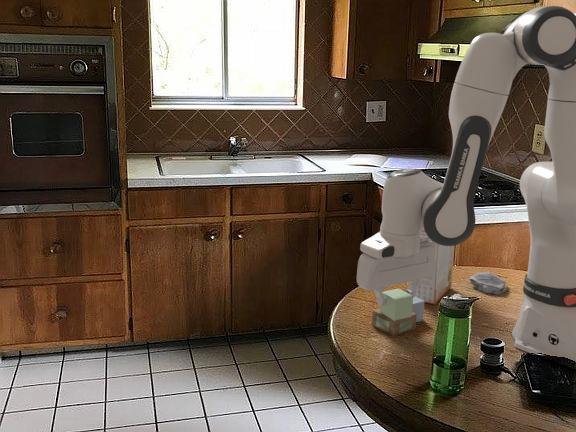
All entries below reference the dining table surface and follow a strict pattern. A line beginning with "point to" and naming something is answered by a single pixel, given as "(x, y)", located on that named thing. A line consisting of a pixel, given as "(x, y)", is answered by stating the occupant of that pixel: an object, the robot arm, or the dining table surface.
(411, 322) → the walnut slab
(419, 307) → the slate blue block
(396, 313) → the sage green block
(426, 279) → the cracker box
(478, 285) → the fossil
